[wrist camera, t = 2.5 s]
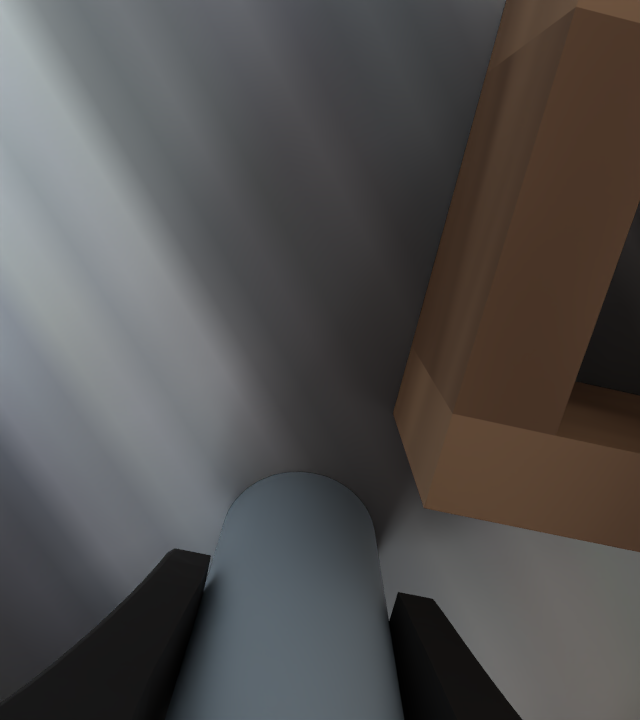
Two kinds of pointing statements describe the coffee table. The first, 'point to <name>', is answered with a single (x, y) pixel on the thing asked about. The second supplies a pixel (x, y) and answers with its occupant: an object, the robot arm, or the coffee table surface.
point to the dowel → (292, 612)
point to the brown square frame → (534, 286)
